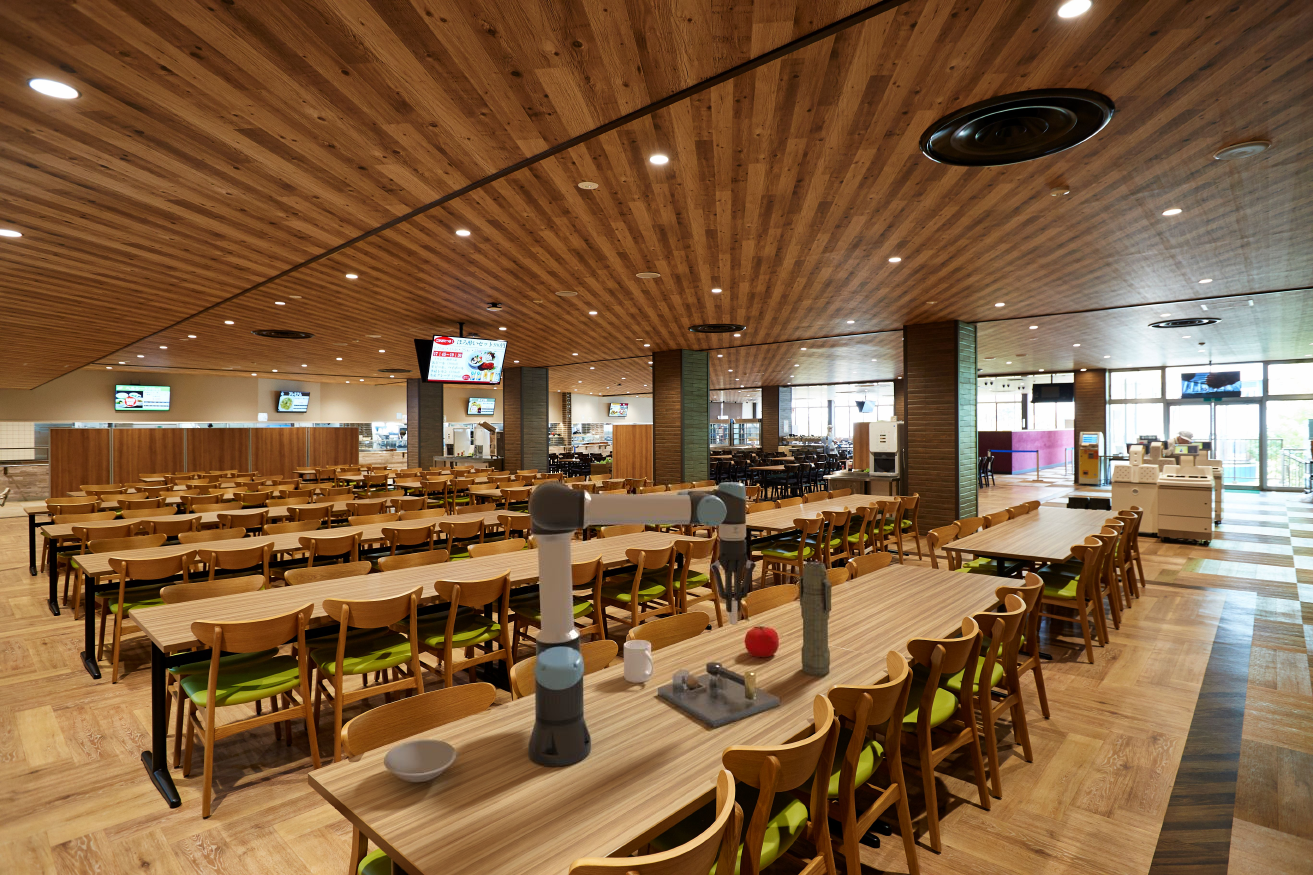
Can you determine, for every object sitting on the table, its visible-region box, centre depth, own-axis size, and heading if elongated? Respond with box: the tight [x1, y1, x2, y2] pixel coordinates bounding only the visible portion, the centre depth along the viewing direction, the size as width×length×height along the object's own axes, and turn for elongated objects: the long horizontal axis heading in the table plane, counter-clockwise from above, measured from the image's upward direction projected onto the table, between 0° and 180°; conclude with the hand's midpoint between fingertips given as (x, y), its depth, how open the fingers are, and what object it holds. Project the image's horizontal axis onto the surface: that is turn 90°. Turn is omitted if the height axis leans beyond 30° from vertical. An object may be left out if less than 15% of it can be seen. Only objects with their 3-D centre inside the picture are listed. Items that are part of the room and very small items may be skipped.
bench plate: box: [657, 668, 781, 729], centre depth 179 cm, size 24×26×6 cm
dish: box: [383, 738, 457, 783], centre depth 139 cm, size 18×14×5 cm
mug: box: [623, 639, 654, 684], centre depth 195 cm, size 9×12×11 cm
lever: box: [705, 661, 757, 700], centre depth 179 cm, size 5×19×7 cm, turn 37°
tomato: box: [744, 625, 780, 658], centre depth 216 cm, size 11×13×10 cm
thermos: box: [798, 561, 832, 677], centre depth 200 cm, size 9×12×35 cm
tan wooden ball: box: [686, 674, 699, 689], centre depth 182 cm, size 4×4×4 cm
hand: (733, 623), depth 172 cm, fingers closed
